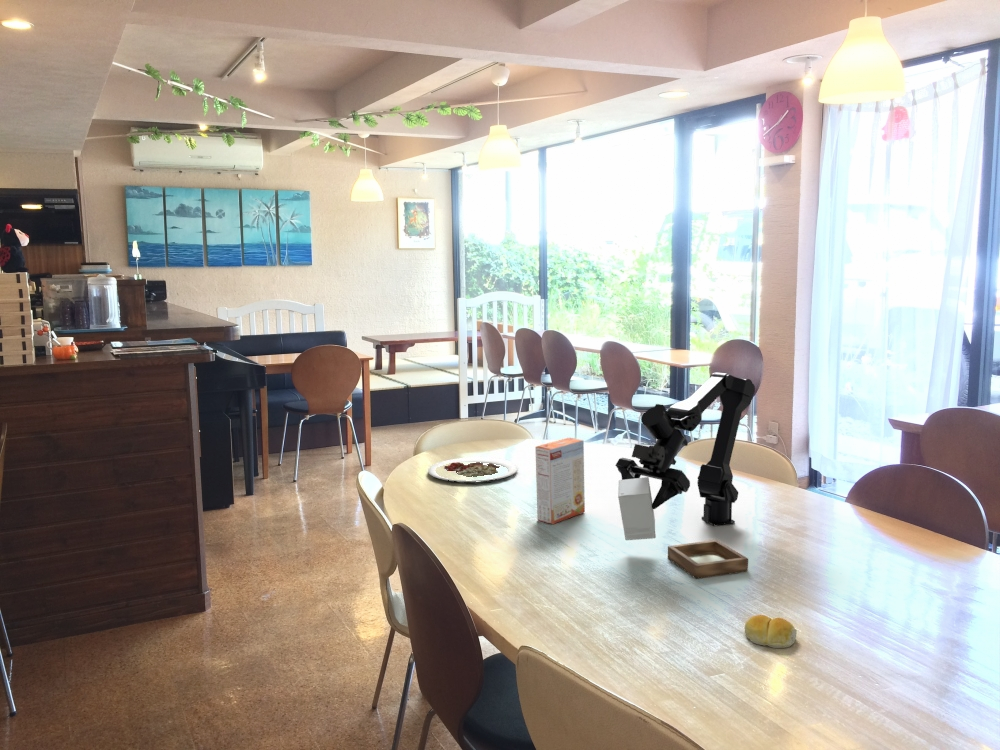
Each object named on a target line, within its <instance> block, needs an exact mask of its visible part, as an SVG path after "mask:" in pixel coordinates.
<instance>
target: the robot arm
mask: <svg viewBox="0 0 1000 750" xmlns="http://www.w3.org/2000/svg"><path fill="white" fill-rule="evenodd" d="M755 392H756V387H755V384H754V383H753V381H752V380H751V379H750V378H743V377H736V376H734V375H732V374H730V373H724V372H713V373H711V374H710V376H709V378H708V379H707V380H706V381H705V382H704V383H703V384H702V385H700V387H698V389H697V390H696V391H695V392H694V393H693V394H691V396H689V397H688V398H686V399H684V400H681V401H680V400H679V401H678V402H675V403H673V404H672V405H671V406H669V408H668V409H666V407H665V405H664V404H661V403H655V405H654V407H653V406H652V407H650V408H648V409H647V410H646V411H645V412H643V413H642V416H641V418H640V419H641V420H640V421H641V423H642V425H643V426H644V428H645V429H646V430H647V432H648V433H649V434H650V435H651V437H652V438H654V439H656V441H655V443H654V445H651V444H650V445H649V446H647V445H642V444H636V443H635V444H634V447H633V450H632V454H631V458H636V459H638V462H639V464H640V465H642V466H639V464H637V463H636V461H635V460H634V459H631V458H630V459H629V458H626V457H620V458H619V459H618V460H617V462H616V463H615V467H616V468H617V470H618V472H619V473H620V475H621V480H625V479H635V478H641V477H643V476H644V477H648V478H653V479H655V480H661V484H660V487H659V490H658V492H657V493H656V495H655V498H654V499H653V500H652V503H653V504H652V508H653V510H656V509H657V508H658V507H660V506H661V505H663V504H664V503H666V502H667V501H669V500H670V499H672V498H674V497H675V496H677V495H682V494H683V493H687V492H688V491H689V489H690V487H691V481H690V479H689V478H688V477H687V475H686V474H685V473H684V472H683V470H682V469H678V468H672V467H671V466H672V465H673V466H675V465H676V463H677V460H676V456H677V454H678V452H679V450H680V448H681V446H684V447H687V446H688V445H689V444H688V439H687V435H686V434H684V433H683V432H682V431H687V432H693V431H695V429H696V428H697V427H698V426H699V424H700V423H701V422H702V420H703V419H702V417H703V413H704V411H706V410H707V408H709V407H710V406H711V405H712V404H713V403H714V402H715V401H716V400H717V399H718V398H719V399H720V402H721V406H722V412H721V416H720V420H719V423H718V427H717V432H716V434H715V435H716V436H715V440H714V445H713V449H712V453H711V457H710V460H709V461H707V463H706V464H704V463H702V465H700V467H699V469H700V470H699V474H698V476H697V488H698V492H699V497H700V498H704V504H703V515H702V516H701V519H702V520H704V522H705V521H706V522H707V523H708V524H710V525H712V526H721V525H730V524H735V522H736V521H735V520H734V519H732V516H733V515H732V513H733V512H732V511H733V508H732V507H733V504H735V503H736V501H737V500H738V497H739V491H738V490H737V488H736V487H735V485H734V484H733V478H734V476H733V473H732V469H731V466H730V463H731V459H732V455H733V450H734V447H735V443H736V438H737V435H738V434H737V433H738V429H739V426H740V422H741V417H742V414H743V412H744V411H745V410H746V409H747V408H748V407H749V406H750V405H751V402H752V400H753V397H754V395H755ZM681 430H682V431H681Z"/></svg>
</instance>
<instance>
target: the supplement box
mask: <svg viewBox="0 0 1000 750" xmlns="http://www.w3.org/2000/svg"><path fill="white" fill-rule="evenodd" d="M650 485H651V484H650V477H647V476H644V477H640V478H635V479H625V480H622V479H619V480H618V487H617V488H618V490H617V493H618V494H617V497H618V504H619V511H620V516H621V521H622V527H623V533H624V538H625V541H637V540H650V539H651V540H652V539H656V537H657V536H656V519H655V509H653V508H652V504H653V498H652V492H651V486H650Z"/></svg>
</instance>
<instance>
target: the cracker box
mask: <svg viewBox="0 0 1000 750" xmlns="http://www.w3.org/2000/svg"><path fill="white" fill-rule="evenodd" d="M584 446H585V445H584V440H583V439H577V438H574V437H567V438H562V439H558V440H555V441H552V442H547V443H544V444H540V445H537V446H535V474H536V476H535V478H536V483H535V484H536V509H537V510H536V511H537V521H539V522H543V523H546V524H550V525H555V524H557V523H561V522H562V521H565V520H567V519H571V518H573V517H576V516H579V515H581V514H583V513H586V512H585V511H586V510H585V508H586V507H585V504H586V503H585V458H584V457H585V456H584V455H585V454H584V453H585V452H584V451H585V449H584Z"/></svg>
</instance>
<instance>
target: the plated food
mask: <svg viewBox="0 0 1000 750" xmlns="http://www.w3.org/2000/svg"><path fill="white" fill-rule="evenodd" d="M460 462H476V463H470V464H468V465H464V464H463V463H460ZM480 462H481V463H480ZM449 463H451V464H450V465H448V466H444V469H446V470H447V471H456V473H457V472H458V473H457V474H458V475H463V476H466V477H472V476H473V477H477V476H484V475H492V474H495V473H498V471H497V470H496V468H499V467H500V466H496V465H501V466H503V467H506V468H507V469H508V473H507V474H505V475H503V476H500V477H497V478H493V479H486V480H472V481H466V480H453V479H448V478H444V477H441V476H439V475H438V474H437V473H436V471H435V470H436V468H437V467H440V466H443V465H446V464H449ZM483 463H489V464H487V465H488V466H487V465H483ZM494 464H496V465H494ZM518 471H519V467H518V465H517V464H516V463H515V462H513V461H510V460H507V459H501V458H496V457H494V458H493V457H481V456H480V457H460V458H451V459H447V460H443V461H442V460H441V461H439V462H437V463H434V464H432V465H430V466H429V468H428V471H427V473H428V474H429V475H430V476H431V477H434V478H437V479H439V480H444V481H448V480H449V482H454V481H460V482H459V483H464V482H475V483H477V482H476V481H487V482H490V481H489V480H493V481H496V480H495V479H497V480H500V479H503V478H504V479H505V478H507V477H510V476H512V475H514V474H516V473H517V472H518Z"/></svg>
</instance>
